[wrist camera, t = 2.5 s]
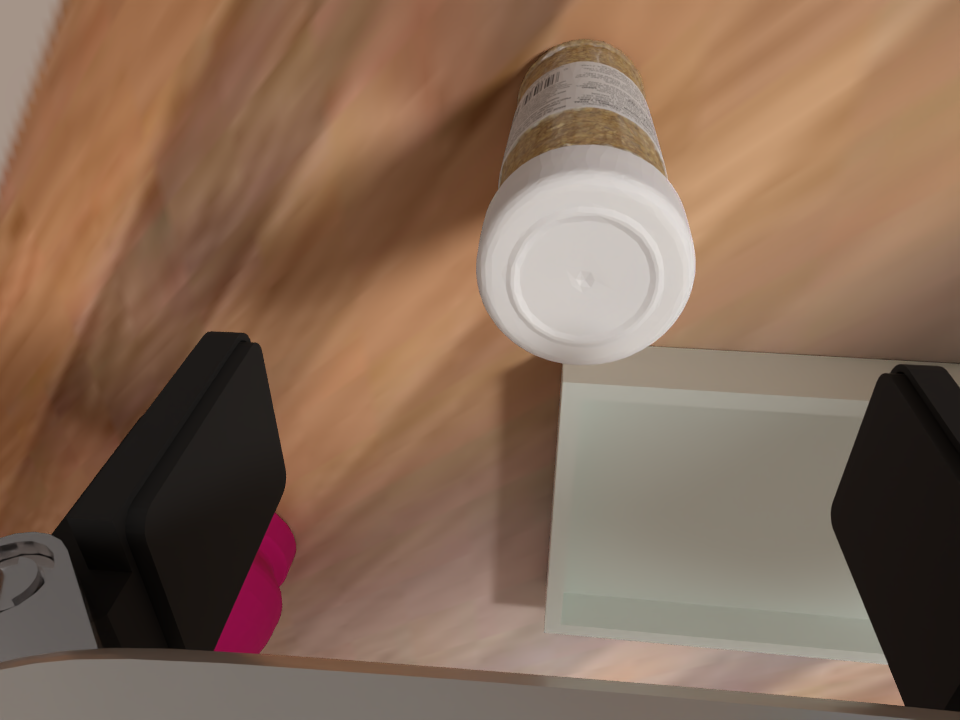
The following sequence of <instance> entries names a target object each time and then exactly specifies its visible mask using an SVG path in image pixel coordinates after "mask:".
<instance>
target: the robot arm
mask: <svg viewBox="0 0 960 720" xmlns="http://www.w3.org/2000/svg"><path fill="white" fill-rule="evenodd" d="M285 483H286V470H285V464H284V459H283V454H282V449H281V444H280V439H279V434H278V429H277V424H276V419H275V414H274V409H273V404H272V399H271V394H270V389H269V384H268V379H267V374H266V369H265V364H264V359H263V354H262V350H261V347H260V345H259V344H258V343H252V342H251V341H250V339H249V337H248V335H247V334H245V333H234V332H213V331H211V332H207V333H206V334H205V335H204V336H203V337H202V338H201V340H200V341H199V342H198V344H197V345H196V346H195V348H194V349H193V350H192V352H191V353H190V354H189V356H188V357H187V358H186V360H185V361H184V362H183V364H182V365H181V366H180V368H179V369H178V370H177V372H176V373H175V374H174V375H173V377H172V378H171V379H170V381H169V382H168V383H167V385H166V386H165V387H164V389H163V390H162V391H161V393H160V394H159V395H158V397H157V398H156V399H155V401H154V402H153V403H152V405H151V406H150V407H149V409H148V410H147V411H146V413H145V414H144V415H143V416H142V417H141V418H140V419H139V420H138V421H137V423H136V424H135V425H134V426H133V428H132V429H131V430H130V432H129V433H128V434H127V436H126V437H125V438H124V440H123V441H122V442H121V444H120V445H119V446H118V448H117V449H116V450H115V452H114V453H113V454H112V455H111V457H110V458H109V459H108V461H107V462H106V463H105V465H104V466H103V467H102V469H101V470H100V471H99V473H98V474H97V475H96V477H95V478H94V479H93V481H92V482H91V483H90V485H89V486H88V487H87V488H86V490H85V491H84V492H83V494H82V495H81V496H80V498H79V499H78V500H77V502H76V503H75V504H74V506H73V507H72V508H71V510H70V511H69V512H68V514H67V515H66V516H65V518H64V519H63V520H62V521H61V523H60V524H59V525H58V527H57V528H56V529H55V531H54V532H53V533H52V535H50V534H45V533H38V532H27V533H17V534H12V535H9V536H5V537H2V538H0V720H960V387H959V386H958V384H957V383H956V382H955V380H954V379H953V378H952V376H951V375H950V374H949V373H948V371H947V370H946V369H945V368H943V367H941V366H933V365H912V364H899V365H896V366H895V367H894V368H893V369H892V370H891V372H890V373H884V374H881V375H880V377H879V378H878V380H877V382H876V385H875V387H874V390H873V393H872V396H871V398H870V401H869V404H868V407H867V409H866V412H865V415H864V418H863V420H862V423H861V426H860V429H859V431H858V434H857V437H856V439H855V442H854V445H853V448H852V450H851V453H850V456H849V459H848V461H847V464H846V467H845V470H844V472H843V475H842V478H841V481H840V483H839V486H838V489H837V492H836V494H835V497H834V500H833V503H832V506H831V524H832V528H833V531H834V533H835V536H836V538H837V540H838V543H839V545H840V548H841V550H842V553H843V555H844V558H845V560H846V563H847V565H848V567H849V570H850V572H851V575H852V577H853V580H854V582H855V585H856V587H857V589H858V592H859V594H860V597H861V599H862V602H863V604H864V607H865V609H866V612H867V614H868V616H869V619H870V621H871V624H872V626H873V629H874V631H875V634H876V636H877V638H878V641H879V643H880V646H881V648H882V651H883V653H884V656H885V658H886V660H887V663H888V665H889V668H890V670H891V673H892V675H893V678H894V680H895V683H896V685H897V687H898V690H899V692H900V695H901V697H902V700H903V702H904V705H905V706H897V705H887V704H877V703H866V702H854V701H843V700H831V699H820V698H808V697H796V696H785V695H773V694H762V693H750V692H738V691H727V690H715V689H704V688H692V687H680V686H668V685H656V684H644V683H631V682H619V681H607V680H595V679H582V678H570V677H558V676H545V675H533V674H520V673H508V672H495V671H483V670H470V669H458V668H444V667H431V666H418V665H405V664H391V663H378V662H365V661H352V660H338V659H325V658H312V657H299V656H285V655H269V654H252V653H235V652H218V651H214V649H215V647H216V645H217V643H218V640H219V638H220V636H221V633H222V631H223V629H224V627H225V624H226V622H227V620H228V618H229V615H230V613H231V611H232V608H233V606H234V604H235V602H236V599H237V597H238V595H239V593H240V590H241V588H242V586H243V583H244V581H245V579H246V577H247V574H248V572H249V570H250V568H251V565H252V563H253V561H254V558H255V556H256V554H257V552H258V549H259V547H260V545H261V543H262V540H263V538H264V536H265V533H266V531H267V529H268V527H269V524H270V522H271V520H272V518H273V515H274V513H275V511H276V508H277V506H278V504H279V502H280V499H281V497H282V495H283V492H284V489H285Z"/></svg>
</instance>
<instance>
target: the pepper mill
mask: <svg viewBox="0 0 960 720" xmlns="http://www.w3.org/2000/svg"><path fill="white" fill-rule="evenodd" d="M295 553H296V543H295V539H294V536H293V534H292V532H291V530H290V528H289V527H288V525H287V524H286V523H285V522H284V521H283V520H282V519H281V518H280V517H279V516H278V515H277V514H276V513H274V515H273V518H272V520H271V522H270V524H269V527H268V529H267V531H266V533H265V536H264V538H263V540H262V543H261V545H260V547H259V549H258V552H257V554H256V556H255V558H254V561H253V563H252V565H251V568H250V570H249V572H248V574H247V577H246V579H245V581H244V583H243V586H242V588H241V590H240V593H239V595H238V597H237V599H236V602H235V604H234V606H233V608H232V611H231V613H230V615H229V618H228V620H227V622H226V624H225V627H224V629H223V631H222V633H221V636H220V638H219V640H218V643H217V645H216V647H215V649H214V651H218V652H235V653H252V654H259V653H260V652H261V651H262V649H263V648H264V647H265V645H266V644H267V642H268V641H269V639H270V637H271V635H272V633H273V631H274V629H275V627H276V625H277V623H278V621H279V618H280V616H281V611H282V598H281V591H280V589H279V586H280V585H281V584H282V583H283V582H284V580H285V578H286V576H287V574H288V571H289V569H290V566H291V564H292V561H293V559H294V556H295Z"/></svg>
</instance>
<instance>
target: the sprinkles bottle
mask: <svg viewBox="0 0 960 720" xmlns="http://www.w3.org/2000/svg"><path fill="white" fill-rule="evenodd" d="M476 275H477V282H478V288H479V292H480V295H481V298H482V301H483V304H484V306H485V308H486V310H487V312H488V314H489V315H490V317H491V319H492V320H493V321H494V323H495V324H496V325H497V327H498V328H499V329H500V330H501V331H502V332H503V333H504V334H505V335H506V336H507V337H508V338H509V339H510V340H511V341H513V342H514V343H515V344H517V345H518V346H519V347H521V348H523V349H524V350H526V351H528V352H530V353H532V354H534V355H536V356H538V357H541V358H544V359H546V360H550V361H553V362H557V363H563V364H569V365H596V364H604V363H609V362H614V361H617V360H620V359H623V358H626V357H629V356H631V355H633V354H635V353H637V352H639V351H641V350H643V349H645V348H646V347H648V346H649V345H651V344H652V343H654V342H655V341H656V340H658V339H659V338H660V337H661V336H662V335H663V334H665V333H666V332H667V330H668V329H669V328H670V327H671V326H672V325H673V324H674V323H675V321H676V320H677V319H678V317H679V316H680V314H681V313H682V311H683V309H684V307H685V305H686V303H687V301H688V299H689V296H690V293H691V290H692V287H693V282H694V277H695V250H694V245H693V239H692V235H691V232H690V228H689V224H688V220H687V217H686V213H685V210H684V207H683V204H682V202H681V200H680V198H679V195H678V193H677V192H676V190H675V189H674V187H673V186H672V185H671V183H670V182H669V181H668V178H667V172H666V168H665V164H664V160H663V157H662V153H661V149H660V146H659V142H658V139H657V135H656V131H655V128H654V124H653V121H652V117H651V114H650V111H649V108H648V105H647V102H646V98H645V92H644V87H643V81H642V78H641V75H640V73H639V72H638V71H637V69H636V68H635V66H634V65H633V63H632V61H631V60H630V59H629V58H628V57H627V56H626V55H625V54H624V53H623V52H622V51H621V50H619V49H617V48H615V47H613V46H612V45H610V44H608V43H606V42H603V41H595V40H590V39H582V40H573V41H569V42H565V43H562V44H560V45H557V46H555V47H553V48H551V49H550V50H549V51H548V52H547V53H545V54H543V55H542V56H541V57H540V58H539V59H538V60H537V61H536V62H535V63H534V64H533V65H532V66H531V67H530V68H529V70H528V72H527V73H526V75H525V78H524V80H523V82H522V84H521V87H520V90H519V93H518V102H517V109H516V112H515V115H514V118H513V122H512V126H511V130H510V134H509V138H508V142H507V146H506V150H505V154H504V158H503V162H502V166H501V171H500V176H499V184H498V191H497V192H496V194H495V195H494V197H493V199H492V201H491V202H490V205H489V207H488V209H487V212H486V215H485V219H484V223H483V227H482V231H481V236H480V241H479V247H478V254H477V263H476Z"/></svg>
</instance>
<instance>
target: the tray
mask: <svg viewBox="0 0 960 720" xmlns="http://www.w3.org/2000/svg"><path fill="white" fill-rule="evenodd" d="M899 364H912V365H933V366H941V367H943V368H945V369H946V370H947V371H948V373H949V374H950V375H951V376H952V378H953V379H954V380H955V382H956V383H957V384H958V386H959V387H960V364H953V363H936V362H918V361H900V360H883V359H865V358H847V357H830V356H812V355H795V354H777V353H759V352H742V351H724V350H707V349H689V348H671V347H654V346H648V347H646V348H645V349H643V350H641V351H639V352H637V353H635V354H633V355H631V356H629V357H626V358H623V359H620V360H617V361H614V362H609V363H604V364H596V365H569V364H563V363H562V375H561V389H560V403H559V417H558V430H557V444H556V458H555V472H554V485H553V499H552V513H551V527H550V540H549V554H548V568H547V582H546V602H545V624H544V633H553V634H564V635H574V636H585V637H596V638H607V639H617V640H628V641H639V642H650V643H660V644H671V645H682V646H693V647H703V648H714V649H725V650H736V651H746V652H757V653H768V654H779V655H789V656H800V657H811V658H822V659H833V660H843V661H854V662H865V663H876V664H886V665H888V663H887V660H886V658H885V656H884V653H883V651H882V648H881V646H880V643H879V641H878V638H877V636H876V634H875V631H874V629H873V626H872V624H871V621H870V619H869V616H868V614H867V612H866V609H865V607H864V604H863V602H862V599H861V597H860V594H859V592H858V589H857V587H856V585H855V582H854V580H853V577H852V575H851V572H850V570H849V567H848V565H847V563H846V560H845V558H844V555H843V553H842V550H841V548H840V545H839V543H838V540H837V538H836V536H835V533H834V531H833V528H832V524H831V506H832V503H833V500H834V497H835V494H836V492H837V489H838V486H839V483H840V481H841V478H842V475H843V472H844V470H845V467H846V464H847V461H848V459H849V456H850V453H851V450H852V448H853V445H854V442H855V439H856V437H857V434H858V431H859V429H860V426H861V423H862V420H863V418H864V415H865V412H866V409H867V407H868V404H869V401H870V398H871V396H872V393H873V390H874V387H875V385H876V382H877V380H878V378H879V377H880V375H881V374H884V373H890V372H891V370H892V369H893V368H894V367H895V366H896V365H899Z"/></svg>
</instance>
